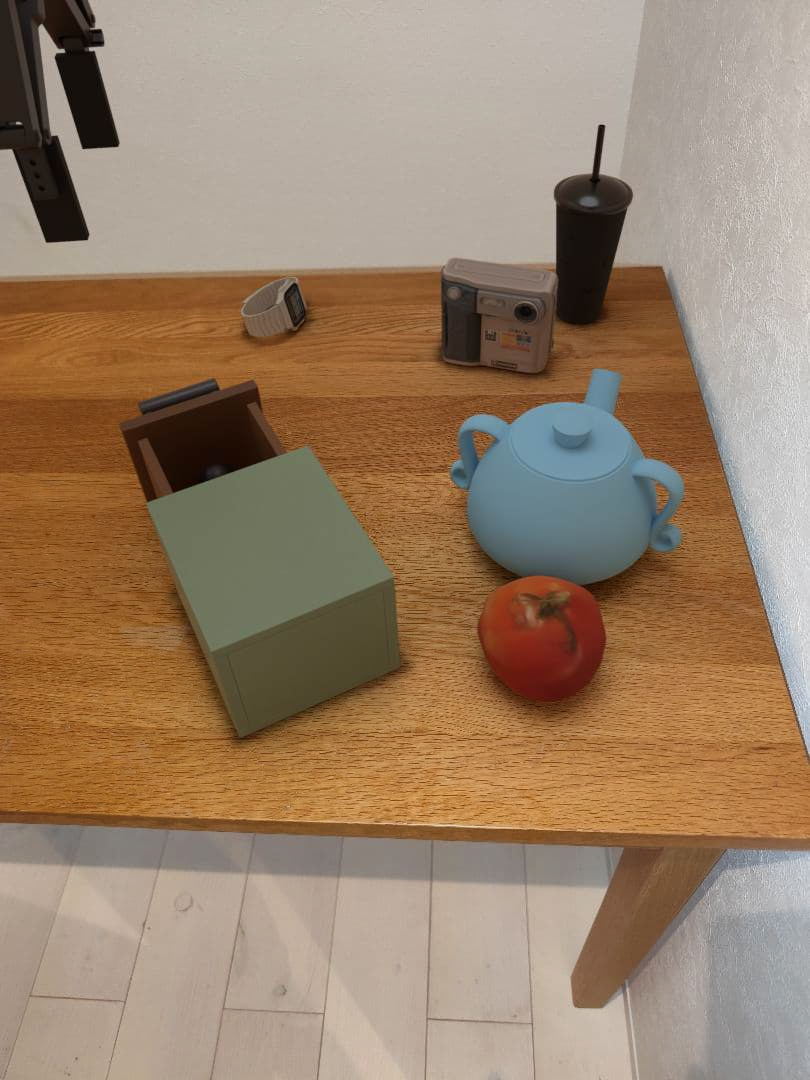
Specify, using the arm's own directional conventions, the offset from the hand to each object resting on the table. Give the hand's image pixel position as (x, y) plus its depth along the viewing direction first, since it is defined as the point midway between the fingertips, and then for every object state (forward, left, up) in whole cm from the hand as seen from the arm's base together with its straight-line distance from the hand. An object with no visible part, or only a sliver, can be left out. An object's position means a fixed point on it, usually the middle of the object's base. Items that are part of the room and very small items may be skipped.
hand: (86, 189), depth 63 cm
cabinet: (+11, -20, -27) cm, 35 cm away
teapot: (+35, -10, -27) cm, 45 cm away
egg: (+6, -8, -25) cm, 27 cm away
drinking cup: (+42, +20, -27) cm, 54 cm away
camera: (+32, +13, -27) cm, 44 cm away
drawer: (+6, -7, -26) cm, 27 cm away
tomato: (+30, -25, -27) cm, 47 cm away
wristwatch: (+9, +22, -27) cm, 36 cm away
